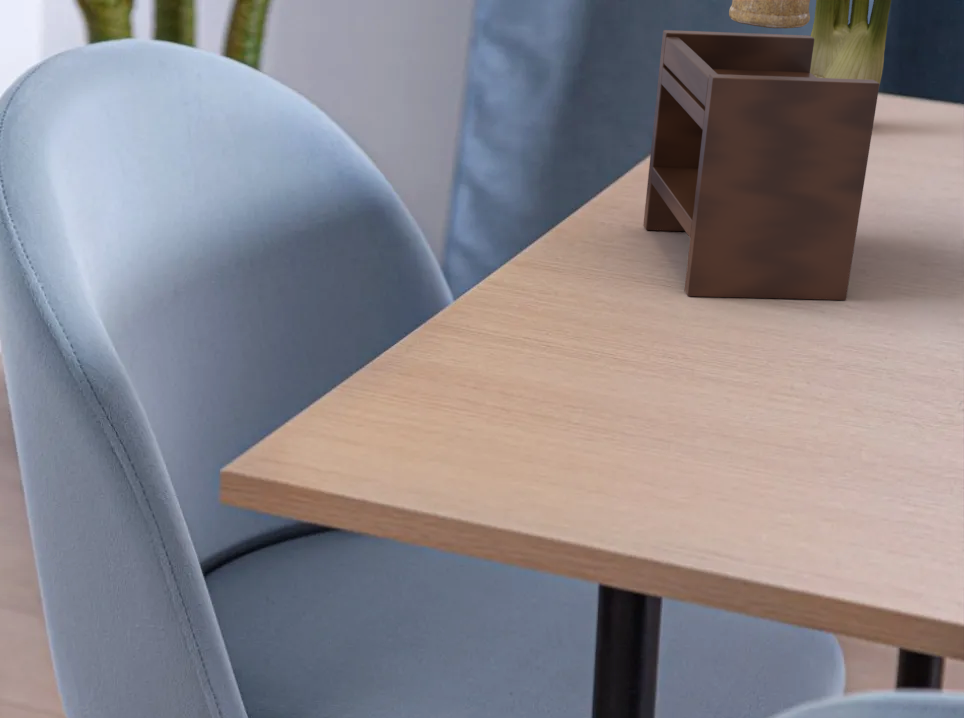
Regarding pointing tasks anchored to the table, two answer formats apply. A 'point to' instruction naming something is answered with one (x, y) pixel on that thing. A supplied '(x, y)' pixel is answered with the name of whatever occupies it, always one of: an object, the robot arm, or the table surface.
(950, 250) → the table surface
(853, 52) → the fennel bulb
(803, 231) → the rack
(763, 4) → the spice jar
